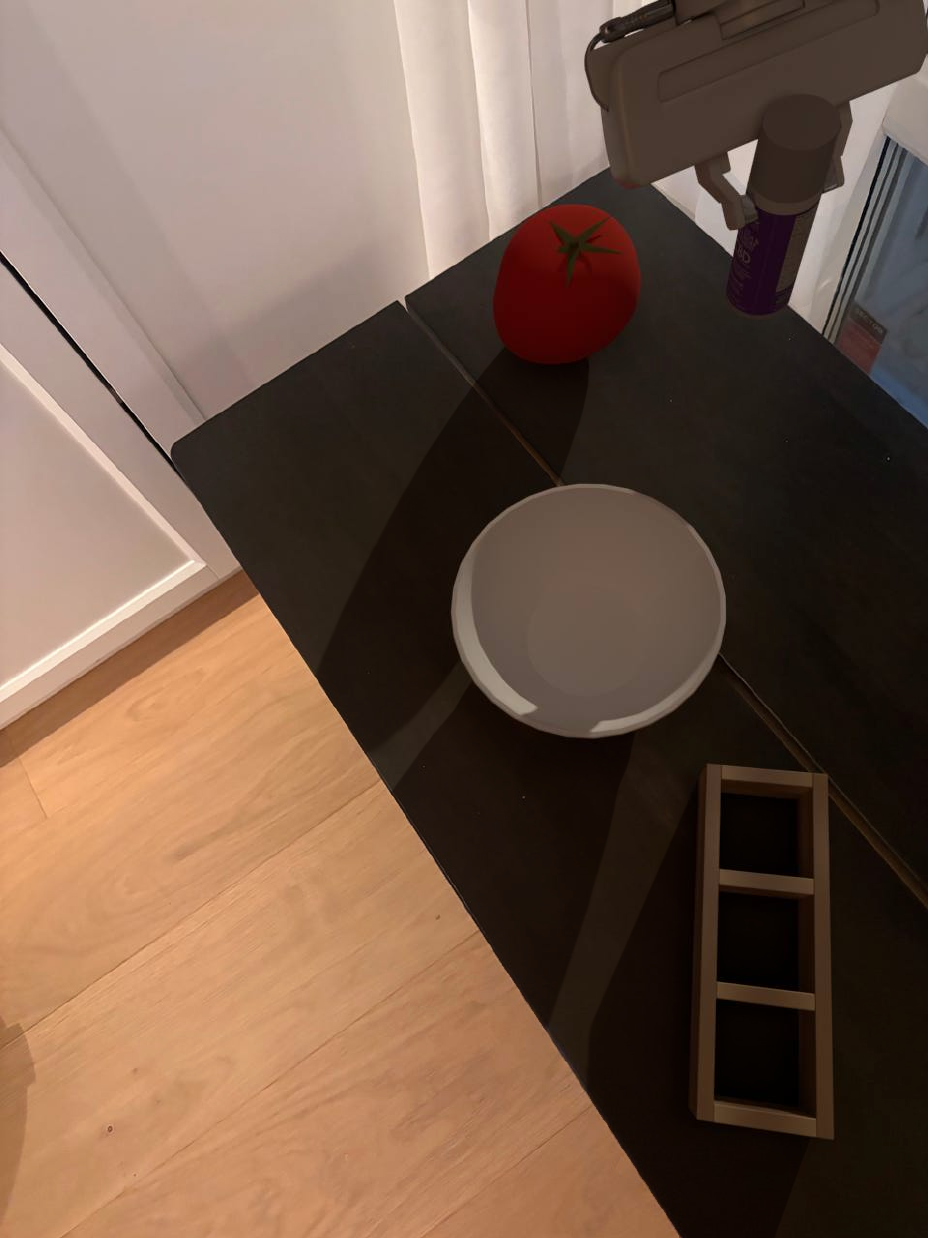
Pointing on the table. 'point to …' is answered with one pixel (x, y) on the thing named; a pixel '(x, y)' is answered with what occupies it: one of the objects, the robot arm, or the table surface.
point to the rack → (812, 952)
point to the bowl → (588, 611)
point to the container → (782, 203)
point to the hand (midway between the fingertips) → (786, 208)
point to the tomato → (565, 285)
